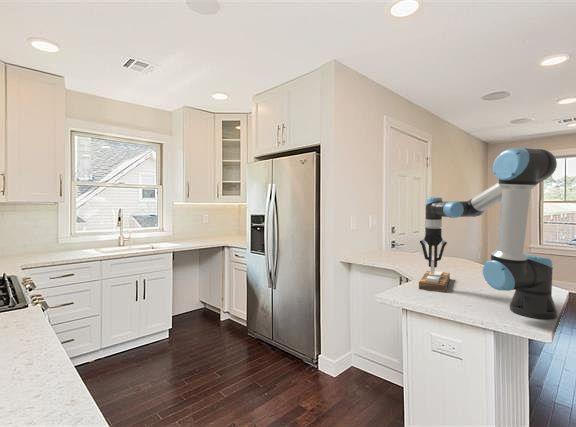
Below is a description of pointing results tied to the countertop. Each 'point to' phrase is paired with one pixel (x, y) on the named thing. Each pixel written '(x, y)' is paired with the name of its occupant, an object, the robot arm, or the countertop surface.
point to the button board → (434, 286)
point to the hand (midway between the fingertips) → (432, 273)
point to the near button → (433, 279)
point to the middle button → (436, 275)
